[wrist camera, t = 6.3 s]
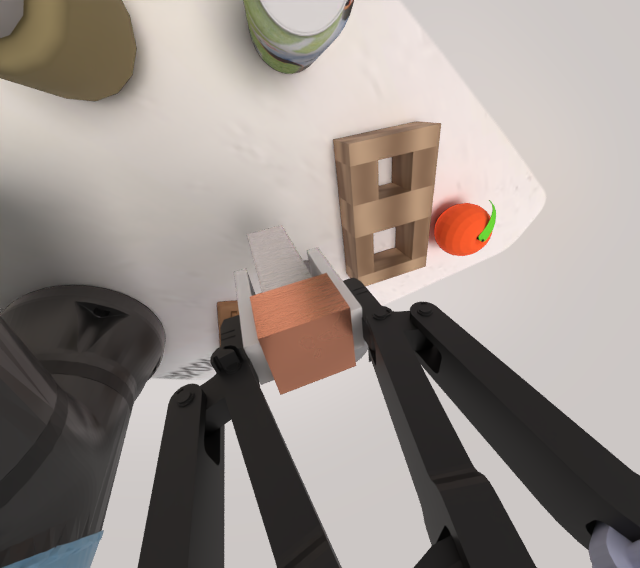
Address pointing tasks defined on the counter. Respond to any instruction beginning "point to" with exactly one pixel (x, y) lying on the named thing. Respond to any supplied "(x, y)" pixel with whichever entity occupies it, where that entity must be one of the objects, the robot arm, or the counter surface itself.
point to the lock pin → (298, 315)
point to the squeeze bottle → (67, 46)
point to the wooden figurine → (226, 312)
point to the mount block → (387, 198)
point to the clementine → (464, 229)
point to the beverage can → (295, 30)
